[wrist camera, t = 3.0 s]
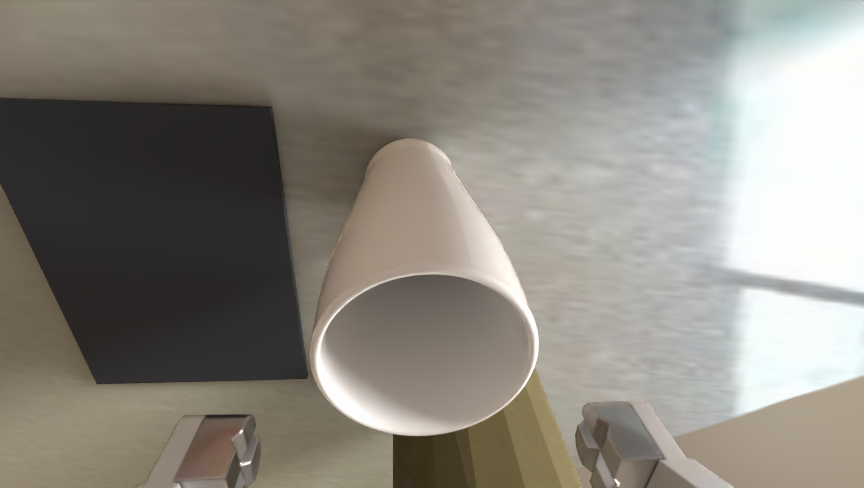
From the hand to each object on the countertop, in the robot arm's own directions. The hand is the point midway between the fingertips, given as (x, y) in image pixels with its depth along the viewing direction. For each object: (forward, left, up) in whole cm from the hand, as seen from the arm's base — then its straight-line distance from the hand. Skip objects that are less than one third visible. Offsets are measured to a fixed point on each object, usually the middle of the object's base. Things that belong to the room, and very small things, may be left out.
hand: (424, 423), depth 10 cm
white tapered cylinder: (0, 0, -17) cm, 17 cm away
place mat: (+6, -15, -17) cm, 23 cm away
